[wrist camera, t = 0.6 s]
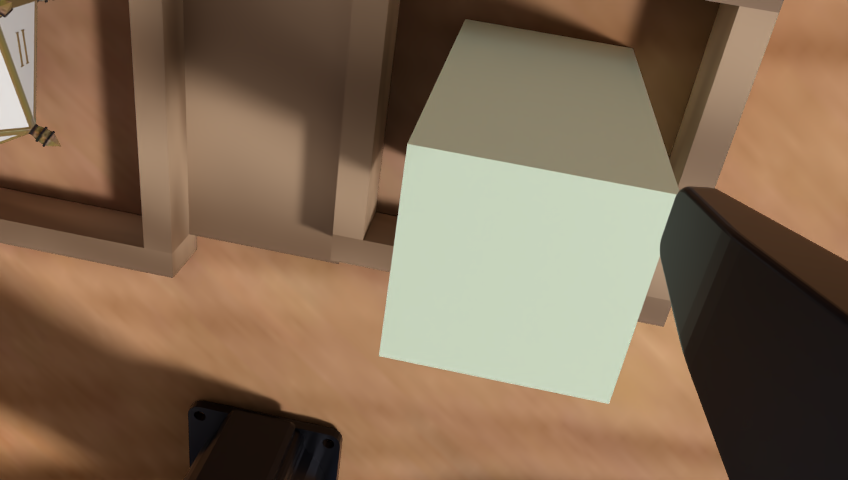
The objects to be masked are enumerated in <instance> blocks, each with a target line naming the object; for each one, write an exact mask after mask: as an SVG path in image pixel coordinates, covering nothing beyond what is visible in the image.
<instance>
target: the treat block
mask: <svg viewBox="0 0 848 480" xmlns="http://www.w3.org/2000/svg"><path fill="white" fill-rule="evenodd" d="M678 192H679V188H678V185H677V182H676V179H675V176H674V173H673V170H672V167H671V164H670V161H669V158H668V154H667V151H666V148H665V145H664V142H663V139H662V136H661V133H660V130H659V127H658V124H657V121H656V118H655V115H654V112H653V109H652V105H651V102H650V99H649V96H648V93H647V90H646V87H645V84H644V81H643V78H642V75H641V72H640V69H639V66H638V63H637V60H636V56H635V53H634V50H633V48H628V47H622V46H616V45H611V44H605V43H599V42H594V41H588V40H582V39H577V38H571V37H565V36H559V35H554V34H548V33H542V32H537V31H531V30H525V29H520V28H514V27H508V26H503V25H497V24H491V23H486V22H480V21H474V20H469V19H465V21H464V23H463V25H462V27H461V29H460V32H459V34H458V36H457V38H456V40H455V42H454V44H453V47H452V49H451V51H450V53H449V55H448V57H447V60H446V62H445V64H444V66H443V68H442V70H441V72H440V75H439V77H438V79H437V81H436V83H435V85H434V88H433V90H432V92H431V94H430V96H429V98H428V101H427V103H426V105H425V107H424V109H423V111H422V113H421V116H420V118H419V120H418V122H417V124H416V126H415V129H414V131H413V133H412V135H411V137H410V139H409V141H408V144H407V150H406V158H405V165H404V173H403V180H402V188H401V195H400V203H399V210H398V218H397V225H396V233H395V240H394V248H393V255H392V263H391V270H390V278H389V285H388V293H387V300H386V308H385V315H384V323H383V330H382V338H381V345H380V353H379V356H381V357H386V358H391V359H396V360H400V361H405V362H410V363H415V364H420V365H424V366H429V367H434V368H439V369H444V370H448V371H453V372H458V373H463V374H468V375H472V376H477V377H482V378H487V379H492V380H497V381H501V382H506V383H511V384H516V385H521V386H525V387H530V388H535V389H540V390H545V391H549V392H554V393H559V394H564V395H569V396H573V397H578V398H583V399H588V400H593V401H598V402H602V403H607V404H609V402H610V399H611V396H612V394H613V391H614V388H615V385H616V382H617V379H618V376H619V373H620V370H621V367H622V365H623V362H624V359H625V356H626V353H627V350H628V347H629V344H630V341H631V338H632V336H633V333H634V330H635V327H636V324H637V321H638V318H639V315H640V312H641V309H642V307H643V304H644V301H645V298H646V295H647V292H648V289H649V286H650V283H651V280H652V278H653V275H654V272H655V269H656V266H657V263H658V260H659V257H660V242H661V238H662V234H663V232H664V229H665V226H666V223H667V220H668V217H669V214H670V211H671V208H672V205H673V202H674V199H675V197H676V195H677V193H678Z"/></svg>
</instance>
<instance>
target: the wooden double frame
mask: <svg viewBox="0 0 848 480" xmlns="http://www.w3.org/2000/svg"><path fill="white" fill-rule="evenodd" d="M707 1H712V2H718V3H720V6H719V9H718V12H717V15H716V18H715V21H714V24H713V27H712V30H711V33H710V36H709V40H708V43H707V46H706V49H705V52H704V55H703V58H702V61H701V64H700V67H699V70H698V73H697V76H696V79H695V82H694V85H693V88H692V91H691V95H690V98H689V101H688V104H687V107H686V110H685V113H684V116H683V119H682V122H681V125H680V128H679V131H678V134H677V137H676V140H675V143H674V146H673V150H672V153H671V156H670V159H669V161H670V164H671V167H672V170H673V173H674V176H675V179H676V182H677V185H678V188H679V190H681V189H682V188H684V187H688V186H692V187H710V188H715V186H716V183H717V180H718V178H719V175H720V172H721V170H722V167H723V164H724V161H725V159H726V156H727V153H728V150H729V148H730V145H731V142H732V140H733V137H734V134H735V131H736V129H737V126H738V123H739V121H740V118H741V115H742V112H743V110H744V107H745V104H746V102H747V99H748V96H749V93H750V91H751V88H752V85H753V83H754V80H755V77H756V74H757V72H758V69H759V66H760V64H761V61H762V58H763V55H764V53H765V50H766V47H767V45H768V42H769V39H770V36H771V34H772V31H773V28H774V26H775V23H776V20H777V17H778V15H779V12H780V9H781V7H782V4H783V1H784V0H707ZM399 7H400V0H129V13H130V29H131V45H132V61H133V77H134V94H135V110H136V126H137V142H138V158H139V174H140V190H141V207H142V215H136V214H131V213H126V212H121V211H116V210H111V209H106V208H101V207H96V206H91V205H86V204H81V203H76V202H71V201H66V200H61V199H56V198H51V197H46V196H41V195H36V194H31V193H26V192H21V191H16V190H11V189H6V188H1V187H0V243H4V244H9V245H14V246H19V247H24V248H28V249H33V250H38V251H43V252H48V253H53V254H58V255H63V256H68V257H73V258H78V259H82V260H87V261H92V262H97V263H102V264H107V265H112V266H117V267H122V268H127V269H131V270H136V271H141V272H146V273H151V274H156V275H161V276H166V277H171V278H173V277H174V276H175V275H176V274H177V273H178V271H179V270H180V269H181V268H182V267H183V265H184V264H185V263H186V262H187V261H188V259H189V258H190V257H191V256H192V255H193V253H194V252H195V251H196V250H197V240H196V236H201V237H206V238H211V239H216V240H221V241H226V242H231V243H236V244H241V245H246V246H251V247H256V248H261V249H266V250H271V251H276V252H281V253H286V254H291V255H296V256H301V257H306V258H311V259H316V260H321V261H326V262H331V263H336V264H339V262H342V263H347V264H352V265H357V266H362V267H367V268H372V269H377V270H382V271H387V272H390V270H391V263H392V255H393V248H394V240H395V233H396V225H397V218H398V216H392V215H387V214H382V213H377V212H376V205H377V196H378V188H379V179H380V170H381V162H382V153H383V145H384V136H385V127H386V119H387V110H388V102H389V93H390V84H391V76H392V67H393V59H394V50H395V41H396V33H397V24H398V16H399ZM670 308H671V301H670V297H669V293H668V289H667V284H666V280H665V276H664V272H663V267H662V263H661V259H660V257H659V260H658V263H657V266H656V269H655V272H654V275H653V278H652V280H651V283H650V286H649V289H648V292H647V295H646V298H645V301H644V304H643V307H642V309H641V312H640V315H639V318H638V322H643V323H648V324H653V325H658V326H663V327H664V324H665V322H666V319H667V316H668V313H669V311H670Z"/></svg>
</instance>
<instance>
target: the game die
mask: <svg viewBox="0 0 848 480" xmlns="http://www.w3.org/2000/svg"><path fill="white" fill-rule="evenodd" d="M39 1H45V3H46V2H48V0H0V144H2V143H5V142H7V141H10V140H13V139H16V138H18V137H21V136H24V135H26V134H31V135H33V137H34V138H35V139H36V142H38V141H39V142H40V143H42V144H43V147H44V146H61V145H60V143H59V142H58V140H57V138H56V136H55V134H54V133H55V132H54V131H53V132H51V131H49V130H48V129H47V127H45V128H43V127H40V126H38V125H37V124H36V62H37V2H39Z"/></svg>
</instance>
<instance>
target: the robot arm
mask: <svg viewBox="0 0 848 480" xmlns="http://www.w3.org/2000/svg"><path fill="white" fill-rule="evenodd" d="M660 259H661V263H662V267H663V272H664V276H665V280H666V284H667V289H668V293H669V297H670V301H671V306H672V310H673V314H674V318H675V323H676V327H677V331H678V335H679V339H680V343H681V347H682V350H683V354H684V357H685V360H686V363H687V366H688V369H689V372H690V374H691V377H692V380H693V383H694V385H695V388H696V391H697V393H698V396H699V399H700V402H701V404H702V407H703V410H704V412H705V415H706V418H707V420H708V423H709V426H710V429H711V431H712V434H713V437H714V439H715V442H716V445H717V448H718V450H719V453H720V456H721V458H722V461H723V464H724V467H725V469H726V472H727V475H728V477H729V480H848V261H846V260H844V259H842V258H841V257H839V256H837V255H835V254H833V253H832V252H830V251H828V250H826V249H824V248H823V247H821V246H819V245H817V244H815V243H813V242H812V241H810V240H808V239H806V238H804V237H803V236H801V235H799V234H797V233H795V232H794V231H792V230H790V229H788V228H786V227H784V226H783V225H781V224H779V223H777V222H775V221H774V220H772V219H770V218H768V217H766V216H765V215H763V214H761V213H759V212H757V211H755V210H754V209H752V208H750V207H748V206H746V205H745V204H743V203H741V202H739V201H737V200H736V199H734V198H732V197H730V196H728V195H726V194H725V193H723V192H721V191H719V190H717V189H715V188H710V187H692V186H688V187H684V188H682V189H681V190H679V192H678V193H677V195H676V197H675V199H674V202H673V205H672V208H671V211H670V214H669V217H668V220H667V223H666V226H665V229H664V232H663V234H662V238H661V242H660ZM199 411H200V412H202V413H204V414H202V413H200V412H199ZM188 421H189V453H190V469H189V471H188V473H187V475H186V476H185V478H184V480H338V475H339V466H340V457H341V448H342V435H341V434H340V432H338V431H337V430H335V429H333V428H329V427H324V426H319V425H315V424H310V423H305V422H301V421H296V420H291V419H287V418H282V417H277V416H273V415H268V414H263V413H259V412H254V411H249V410H245V409H240V408H235V407H231V406H226V405H221V404H217V403H212V402H207V401H201V400H199V401H196V402H194V403H193V405H192V406H191V408H190V410H189V413H188ZM327 439H329V440H332V441H328V440H327Z"/></svg>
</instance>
